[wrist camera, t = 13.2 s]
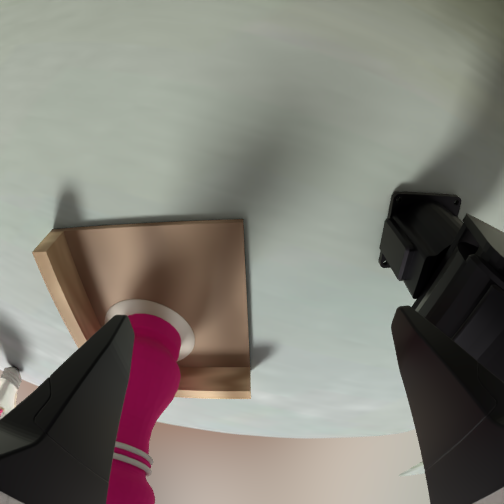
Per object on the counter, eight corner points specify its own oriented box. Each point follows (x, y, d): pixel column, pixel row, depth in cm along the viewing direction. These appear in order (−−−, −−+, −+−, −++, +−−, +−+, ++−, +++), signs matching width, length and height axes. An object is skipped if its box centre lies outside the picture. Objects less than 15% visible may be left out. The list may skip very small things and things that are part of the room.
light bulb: (39, 376, 35) (13, 442, 25) (28, 386, 38) (5, 445, 28) (2, 348, 33) (-30, 413, 22) (-5, 361, 35) (-33, 419, 25)
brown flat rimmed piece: (243, 219, 22) (242, 245, 19) (250, 371, 32) (250, 398, 29) (52, 229, 22) (32, 252, 20) (112, 365, 32) (104, 389, 29)
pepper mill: (108, 341, 29) (55, 524, 12) (123, 296, 26) (50, 525, 9) (172, 367, 31) (145, 551, 14) (198, 328, 28) (172, 558, 11)
